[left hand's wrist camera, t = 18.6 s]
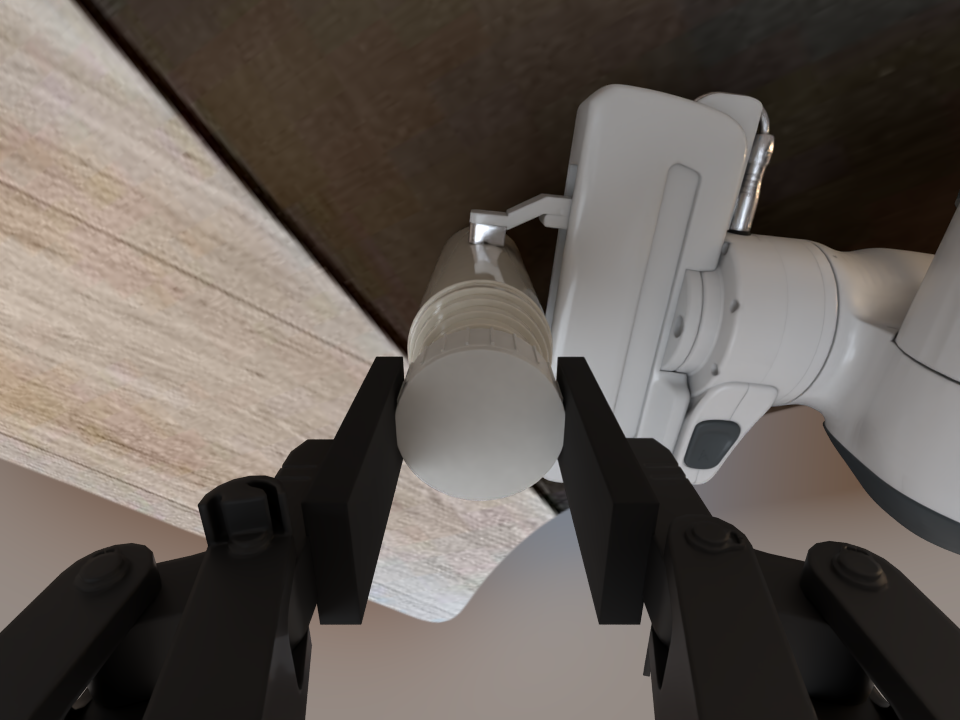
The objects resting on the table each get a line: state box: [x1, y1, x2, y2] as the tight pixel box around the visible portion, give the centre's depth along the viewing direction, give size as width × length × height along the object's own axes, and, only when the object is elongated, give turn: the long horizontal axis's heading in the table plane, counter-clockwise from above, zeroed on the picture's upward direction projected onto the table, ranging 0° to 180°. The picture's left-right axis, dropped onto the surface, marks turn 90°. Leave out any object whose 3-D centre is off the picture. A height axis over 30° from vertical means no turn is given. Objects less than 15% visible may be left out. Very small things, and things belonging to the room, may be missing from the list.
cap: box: [395, 327, 565, 501], centre depth 14 cm, size 5×5×2 cm
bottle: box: [408, 227, 553, 366], centre depth 23 cm, size 5×5×20 cm
